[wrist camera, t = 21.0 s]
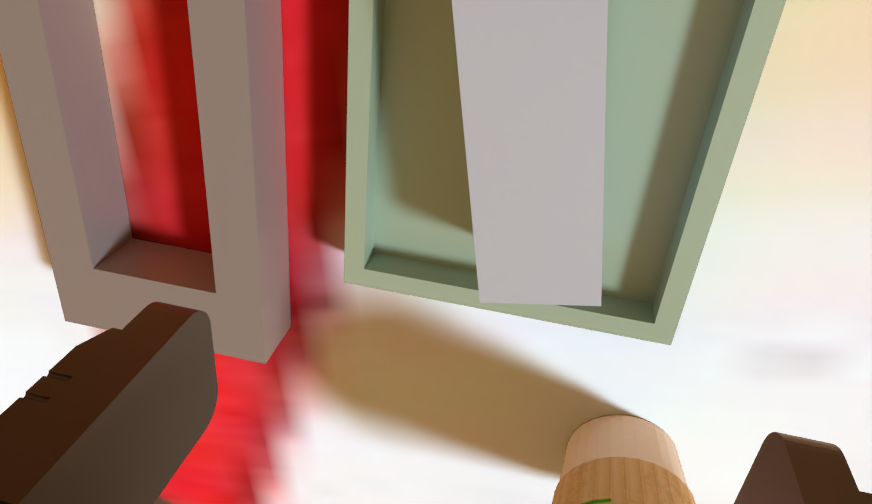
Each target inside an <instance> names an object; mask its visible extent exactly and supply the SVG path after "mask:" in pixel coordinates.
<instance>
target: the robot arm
mask: <svg viewBox="0 0 872 504" xmlns="http://www.w3.org/2000/svg"><path fill="white" fill-rule="evenodd" d="M217 395H218V386H217V376H216V367H215V358H214V348H213V339H212V330H211V322H210V319H209V316H208V314H207V313H206V312H204V311H201V310H196V309H191V308H186V307H182V306H177V305H172V304H167V303H162V302H152V303H150V304H149V305H147V306H146V307H145V308H144V309H143V310H142V311H141V312H140V313H139V314H138V315H137V316H136V317H134V318H133V319H132V320H131V321H130V322H129V323H128V324H127V325H126V326H125V327H124V328H123V329H122V330H121V329H117V328H111V329H109V330H107V331H105V332H103V333H101V334H99V335H97V336H95V337H93V338H91V339H89V340H87V341H85V342H83V343H81V344H79V345H77V346H76V347H75V348H74V349H73V350H71V351H70V352H69V353H68V354H67V355H66V356H65V357H64V358H63V359H61V360H60V361H59V362H58V363H57V364H56V365H55V366H54V367H53V368H52V369H50V370H49V374H48V376H47V377H45V376H43V377H42V378H41V379H39V380H38V381H37V382H36V383H35V384H34V385H33V386H32V387H31V388H30V389H28V390H27V391H26V395H25V397H24V398H19V399H17V400H16V401H15V402H14V403H13V404H12V405H11V406H10V407H9V408H8V409H6V410H5V411H4V412H3V413H2V414H1V415H0V504H153V503H154V502H155V501H156V499H157V498H158V496H159V495H160V494H161V492H162V491H163V489H164V488H165V487H166V485H167V484H168V482H169V481H170V479H171V478H172V477H173V475H174V474H175V472H176V471H177V469H178V468H179V467H180V465H181V464H182V462H183V461H184V460H185V458H186V457H187V455H188V454H189V452H190V451H191V450H192V448H193V447H194V445H195V444H196V443H197V441H198V440H199V438H200V437H201V435H202V434H203V433H204V431H205V430H206V428H207V426H208V424H209V423H210V420H211V418H212V416H213V413H214V410H215V406H216V402H217ZM734 504H872V494H870V493H865V492H861V491H859V490H858V488H857V485H856V483H855V480H854V478H853V476H852V473H851V471H850V468H849V466H848V464H847V461H846V459H845V457H844V455H843V453H842V451H841V450H840V448H839V447H837V446H836V445H834V444H830V443H826V442H821V441H816V440H811V439H806V438H802V437H797V436H792V435H787V434H782V433H778V432H772V433H770V434H769V435H768V436H767V437H766V439H765V440H764V442H763V444H762V446H761V448H760V450H759V452H758V454H757V456H756V458H755V461H754V463H753V465H752V467H751V469H750V471H749V473H748V475H747V477H746V479H745V481H744V484H743V486H742V488H741V490H740V492H739V494H738V496H737V498H736V500H735V502H734Z"/></svg>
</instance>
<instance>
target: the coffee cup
mask: <svg viewBox="0 0 872 504" xmlns="http://www.w3.org/2000/svg"><path fill="white" fill-rule="evenodd" d="M552 504H695V501H694V498H693V495H692V493H691V492H690V490H689V489H688V487H687V483H686V480H685V477H684V473H683V470H682V466H681V463H680V460H679V456H678V453H677V450H676V447H675V444H674V443H673V441H672V440H671V438H670V437H669V436H668V435H667V434H666V433H665V432H664V431H663V430H662V429H661V428H659V427H658V426H656V425H655V424H653V423H651V422H648V421H646V420H644V419H640V418H637V417H633V416H626V415H609V416H603V417H599V418H596V419H593V420H590V421H588V422H586V423H584V424H583V425H581V426H580V427H579V428H578V429H576V430H575V432H574V433H573V434H572V436H571V437H570V439H569V442H568V444H567V449H566V453H565V458H564V463H563V467H562V472H561V477H560V481H559V483H558V485H557V487H556V490H555V493H554V497H553V502H552Z"/></svg>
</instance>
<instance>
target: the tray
mask: <svg viewBox="0 0 872 504" xmlns="http://www.w3.org/2000/svg"><path fill="white" fill-rule="evenodd" d="M785 2H786V0H608V22H607V67H606V112H605V158H604V203H603V248H602V294H601V306H576V305H545V304H513V303H481V302H480V300H479V289H478V278H477V267H476V257H475V246H474V235H473V224H472V214H471V203H470V192H469V182H468V171H467V160H466V149H465V139H464V128H463V117H462V106H461V96H460V85H459V74H458V63H457V53H456V42H455V31H454V20H453V10H452V0H349V30H348V85H347V141H346V196H345V251H344V282H345V283H350V284H356V285H361V286H366V287H371V288H376V289H382V290H387V291H392V292H397V293H402V294H408V295H413V296H418V297H423V298H428V299H434V300H439V301H444V302H449V303H454V304H460V305H465V306H470V307H475V308H480V309H485V310H491V311H496V312H501V313H506V314H511V315H517V316H522V317H527V318H532V319H537V320H543V321H548V322H553V323H558V324H563V325H569V326H574V327H579V328H584V329H589V330H595V331H600V332H605V333H610V334H615V335H620V336H626V337H631V338H636V339H641V340H646V341H652V342H657V343H662V344H667V345H671V343H672V340H673V337H674V334H675V331H676V328H677V325H678V322H679V319H680V316H681V313H682V310H683V307H684V304H685V301H686V298H687V295H688V292H689V289H690V286H691V283H692V280H693V277H694V274H695V271H696V268H697V265H698V262H699V259H700V256H701V253H702V250H703V247H704V244H705V241H706V238H707V235H708V232H709V229H710V226H711V223H712V220H713V217H714V214H715V211H716V208H717V205H718V202H719V199H720V196H721V194H722V191H723V188H724V185H725V182H726V179H727V176H728V173H729V170H730V167H731V164H732V161H733V158H734V155H735V152H736V149H737V146H738V143H739V140H740V137H741V134H742V131H743V128H744V125H745V122H746V119H747V116H748V113H749V110H750V107H751V104H752V101H753V98H754V95H755V92H756V89H757V86H758V83H759V80H760V77H761V74H762V71H763V68H764V65H765V62H766V59H767V56H768V53H769V50H770V47H771V44H772V41H773V38H774V35H775V32H776V29H777V26H778V23H779V20H780V17H781V14H782V11H783V8H784V5H785Z"/></svg>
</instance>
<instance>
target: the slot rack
mask: <svg viewBox="0 0 872 504" xmlns="http://www.w3.org/2000/svg"><path fill="white" fill-rule="evenodd" d="M187 5H188V15H189V25H190V35H191V45H192V55H193V65H194V75H195V85H196V96H197V106H198V116H199V126H200V136H201V146H202V156H203V166H204V176H205V186H206V197H207V207H208V217H209V227H210V237H211V247H212V253H207V252H202V251H197V250H192V249H187V248H181V247H176V246H171V245H166V244H161V243H155V242H150V241H145V240H140V239H134V238H132V232H131V226H130V220H129V214H128V208H127V202H126V196H125V190H124V184H123V178H122V172H121V166H120V160H119V154H118V148H117V142H116V136H115V130H114V124H113V118H112V112H111V106H110V100H109V94H108V88H107V82H106V76H105V70H104V64H103V58H102V52H101V46H100V40H99V34H98V28H97V22H96V16H95V10H94V4H93V0H0V55H1V59H2V63H3V67H4V71H5V75H6V79H7V84H8V88H9V92H10V96H11V100H12V104H13V108H14V112H15V116H16V120H17V125H18V129H19V133H20V137H21V141H22V145H23V149H24V153H25V157H26V162H27V166H28V170H29V174H30V178H31V182H32V186H33V190H34V194H35V199H36V203H37V207H38V211H39V215H40V219H41V223H42V227H43V231H44V235H45V240H46V244H47V248H48V252H49V256H50V260H51V264H52V268H53V272H54V277H55V281H56V285H57V289H58V293H59V297H60V301H61V305H62V309H63V313H64V318H65V321H68V322H73V323H78V324H82V325H87V326H92V327H96V328H101V329H106V330H109V329H111V328H117V329H121V330H122V329H123V328H124V327H125V326H126V325H127V324H128V323H129V322H130V321H131V320H132V319H133V318H134V317H136V316H137V315H138V314H139V313H140V312H141V311H142V310H143V309H144V308H145V307H146V306H147V305H149V304H150V303H152V302H162V303H167V304H172V305H177V306H182V307H186V308H191V309H196V310H201V311H204V312H206V313H207V314H208V316H209V319H210V322H211V330H212V339H213V348H214V353H218V354H222V355H227V356H232V357H236V358H241V359H246V360H250V361H255V362H260V363H264V364H265V363H266V362H267V361H268V359H269V358H270V356H271V355H272V353H273V352H274V350H275V349H276V347H277V346H278V344H279V343H280V342H281V340H282V339H283V337H284V336H285V334H286V333H287V331H288V330H289V328H290V327H291V310H290V278H289V246H288V214H287V182H286V150H285V118H284V86H283V54H282V22H281V0H187Z"/></svg>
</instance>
